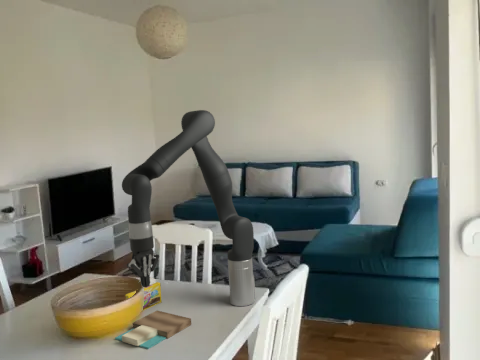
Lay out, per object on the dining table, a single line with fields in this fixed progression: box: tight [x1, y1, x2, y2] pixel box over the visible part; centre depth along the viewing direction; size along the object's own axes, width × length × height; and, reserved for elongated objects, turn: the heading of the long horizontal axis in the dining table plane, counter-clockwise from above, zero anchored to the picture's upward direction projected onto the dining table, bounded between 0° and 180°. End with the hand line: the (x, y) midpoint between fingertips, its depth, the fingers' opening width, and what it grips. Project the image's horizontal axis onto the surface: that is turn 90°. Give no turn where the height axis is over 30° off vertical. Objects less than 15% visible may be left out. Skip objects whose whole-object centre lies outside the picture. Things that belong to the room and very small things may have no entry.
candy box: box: [124, 281, 162, 311], centre depth 182 cm, size 16×2×8 cm, turn 143°
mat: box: [114, 327, 167, 350], centre depth 157 cm, size 8×15×1 cm, turn 56°
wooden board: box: [132, 310, 192, 340], centre depth 165 cm, size 12×16×2 cm
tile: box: [121, 325, 158, 347], centre depth 156 cm, size 9×7×2 cm
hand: (145, 286), depth 158 cm, fingers closed
